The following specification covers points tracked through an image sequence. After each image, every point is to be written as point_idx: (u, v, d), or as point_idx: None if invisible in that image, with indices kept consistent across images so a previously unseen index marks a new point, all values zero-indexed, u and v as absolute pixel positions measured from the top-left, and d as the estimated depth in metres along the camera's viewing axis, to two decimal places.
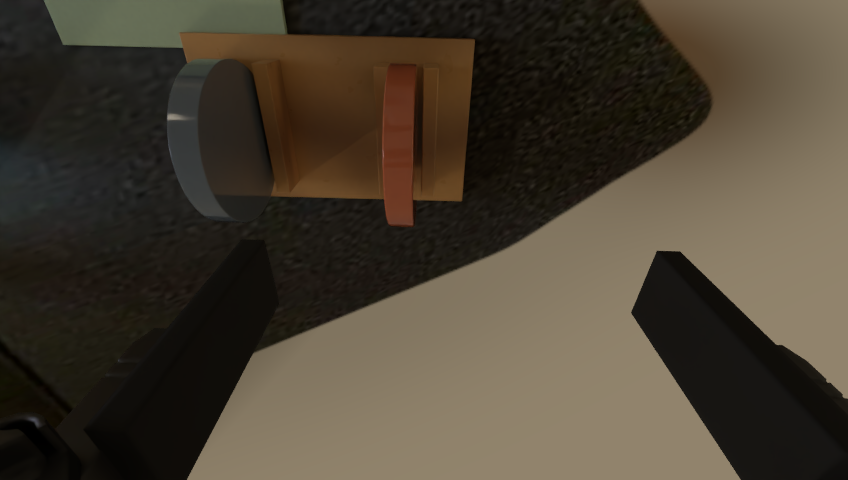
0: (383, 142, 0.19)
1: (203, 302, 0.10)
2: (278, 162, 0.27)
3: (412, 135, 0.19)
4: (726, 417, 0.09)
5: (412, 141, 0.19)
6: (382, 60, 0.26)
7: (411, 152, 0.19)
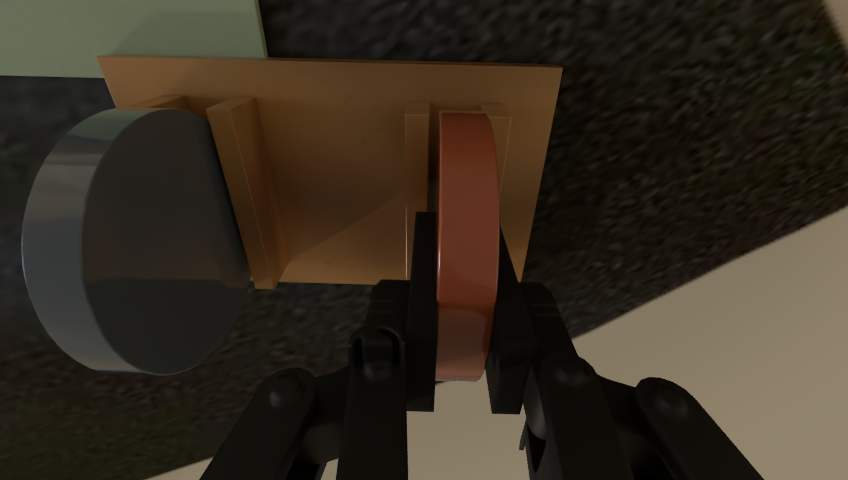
0: (440, 278, 0.10)
1: (423, 257, 0.12)
2: (255, 249, 0.18)
3: (497, 265, 0.10)
4: None
5: (496, 276, 0.10)
6: (415, 98, 0.17)
7: (494, 297, 0.10)
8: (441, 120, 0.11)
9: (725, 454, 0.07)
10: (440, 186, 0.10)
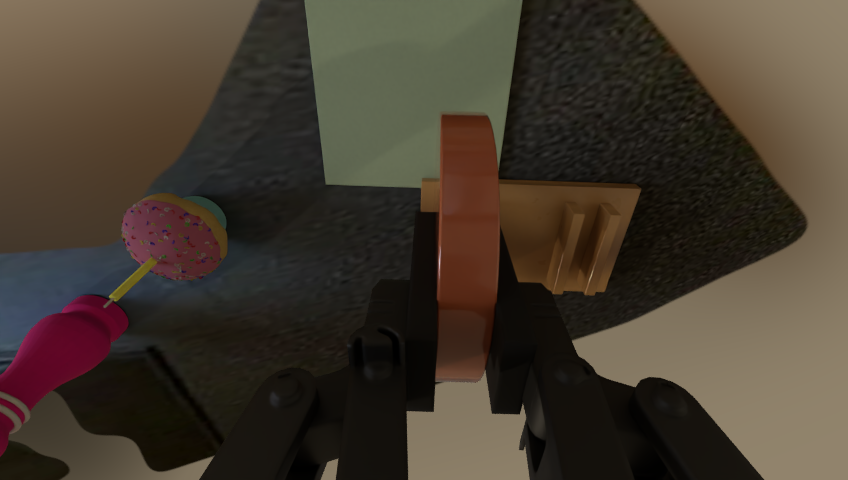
0: (440, 279, 0.10)
1: (423, 257, 0.12)
2: None
3: (497, 266, 0.10)
4: None
5: (497, 277, 0.10)
6: (569, 200, 0.34)
7: (494, 298, 0.10)
8: (441, 121, 0.11)
9: (725, 454, 0.07)
10: (440, 187, 0.10)
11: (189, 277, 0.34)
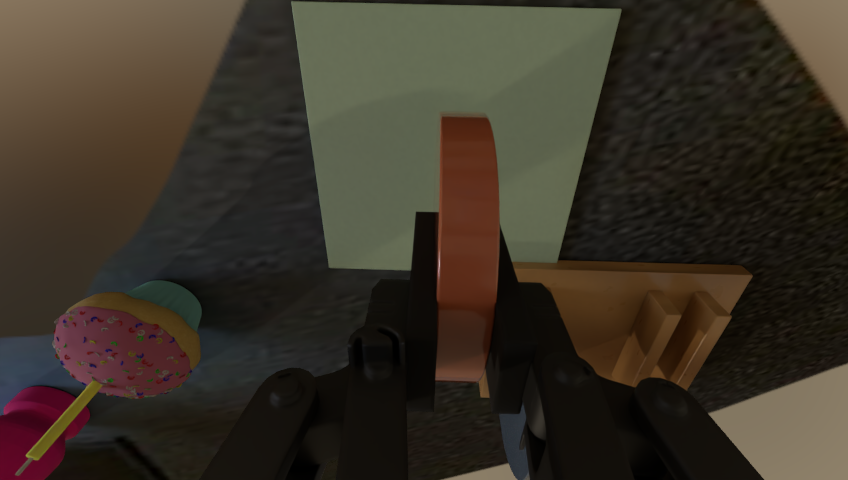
0: (440, 279, 0.10)
1: (423, 257, 0.12)
2: None
3: (497, 266, 0.10)
4: None
5: (496, 277, 0.10)
6: (652, 289, 0.26)
7: (494, 298, 0.10)
8: (441, 121, 0.11)
9: (724, 454, 0.07)
10: (440, 187, 0.10)
11: (149, 395, 0.26)
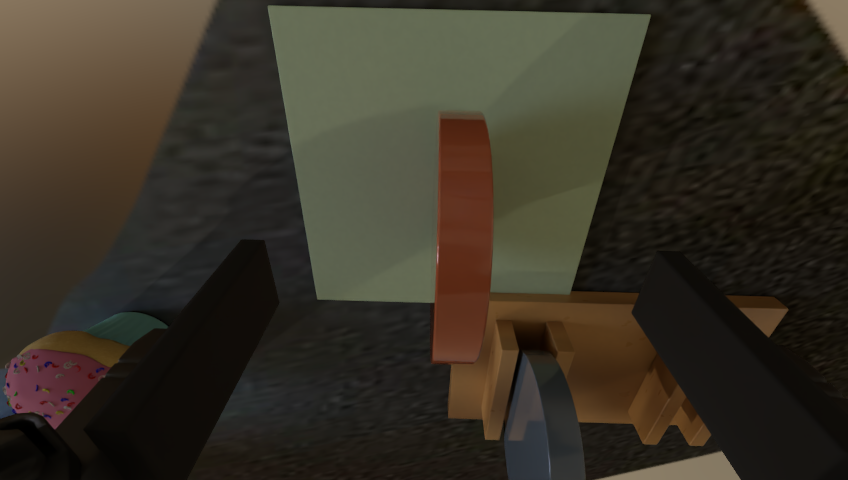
0: (438, 265, 0.10)
1: (203, 302, 0.10)
2: None
3: (491, 252, 0.10)
4: (726, 417, 0.09)
5: (491, 263, 0.10)
6: None
7: (488, 282, 0.11)
8: (440, 119, 0.12)
9: None
10: (438, 180, 0.11)
11: None
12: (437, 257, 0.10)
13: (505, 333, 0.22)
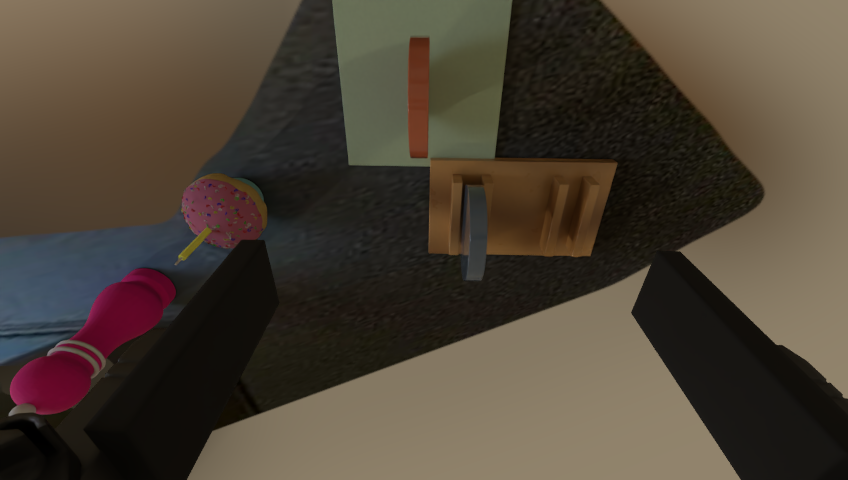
0: (408, 86, 0.28)
1: (203, 302, 0.10)
2: None
3: (428, 81, 0.28)
4: (726, 417, 0.09)
5: (428, 85, 0.28)
6: (556, 174, 0.40)
7: (427, 93, 0.28)
8: (410, 36, 0.29)
9: None
10: (408, 55, 0.28)
11: (236, 245, 0.40)
12: (408, 83, 0.28)
13: (456, 178, 0.40)
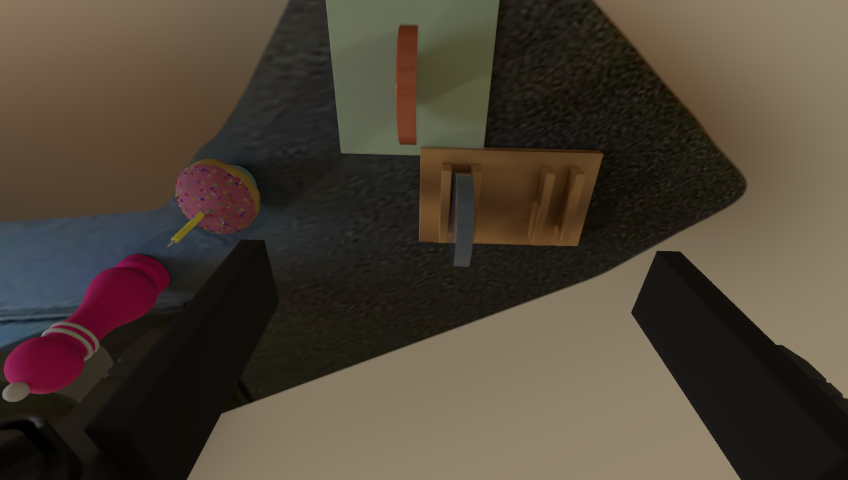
0: (396, 72, 0.29)
1: (203, 302, 0.10)
2: None
3: (415, 67, 0.28)
4: (726, 417, 0.09)
5: (415, 71, 0.29)
6: (543, 164, 0.41)
7: (415, 79, 0.29)
8: (399, 24, 0.30)
9: None
10: (397, 42, 0.29)
11: (229, 230, 0.41)
12: (396, 69, 0.29)
13: (446, 166, 0.40)
